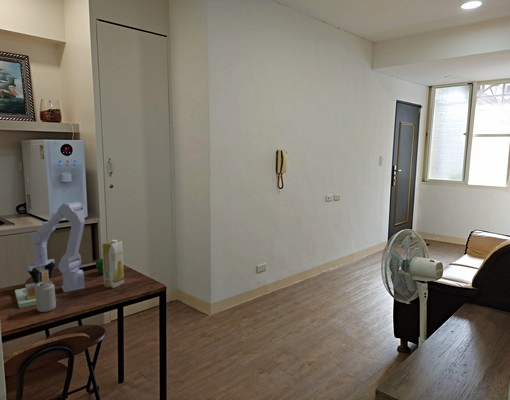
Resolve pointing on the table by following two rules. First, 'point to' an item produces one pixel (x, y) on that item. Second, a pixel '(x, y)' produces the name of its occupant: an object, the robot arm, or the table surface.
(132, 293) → the table surface
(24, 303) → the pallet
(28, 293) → the glass of amber drink
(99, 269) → the bell pepper
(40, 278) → the small drink carton
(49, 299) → the can
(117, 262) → the juice carton
